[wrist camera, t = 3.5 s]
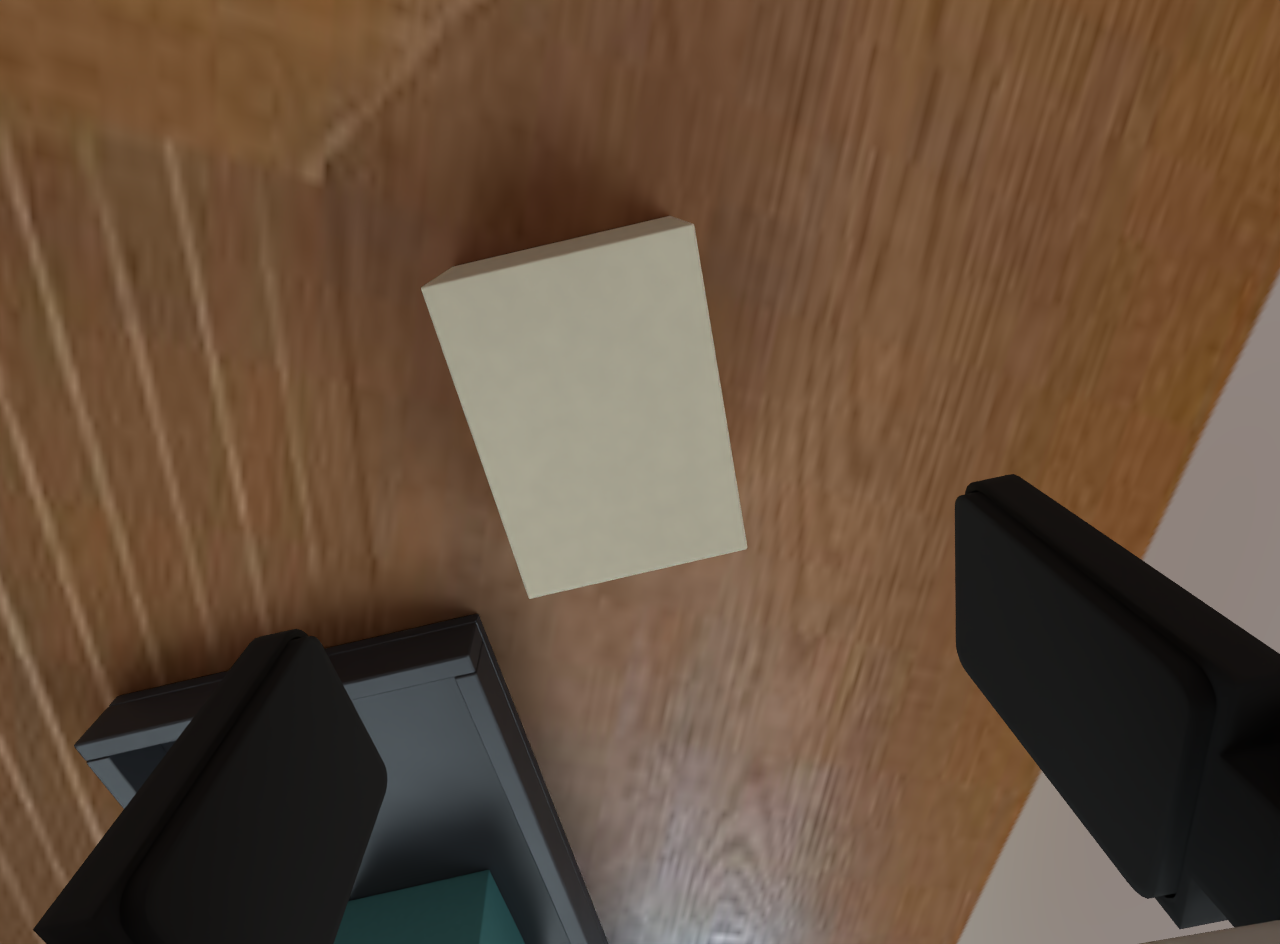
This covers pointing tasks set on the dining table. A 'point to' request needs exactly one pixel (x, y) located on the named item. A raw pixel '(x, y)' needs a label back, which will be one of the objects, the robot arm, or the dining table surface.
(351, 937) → the teal pad
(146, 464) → the dining table surface
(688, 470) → the cream pad
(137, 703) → the tray
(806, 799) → the dining table surface
